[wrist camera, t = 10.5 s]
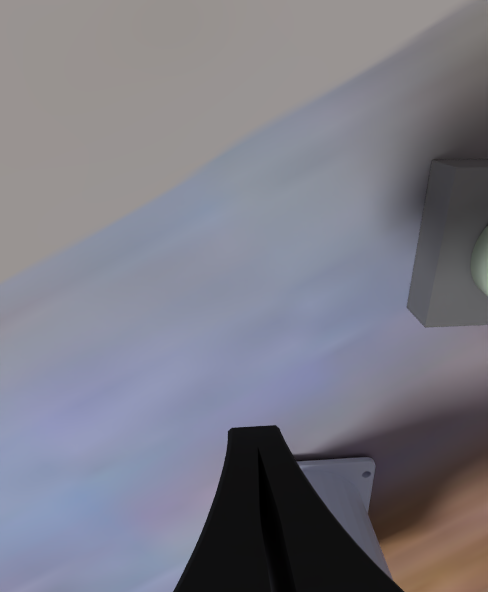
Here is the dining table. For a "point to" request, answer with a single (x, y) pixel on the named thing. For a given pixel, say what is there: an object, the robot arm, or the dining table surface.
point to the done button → (480, 262)
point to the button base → (450, 246)
